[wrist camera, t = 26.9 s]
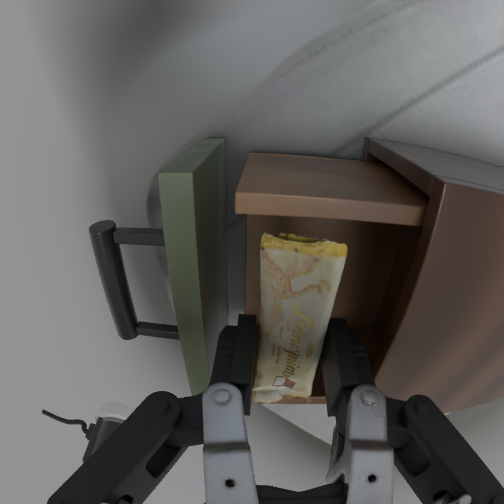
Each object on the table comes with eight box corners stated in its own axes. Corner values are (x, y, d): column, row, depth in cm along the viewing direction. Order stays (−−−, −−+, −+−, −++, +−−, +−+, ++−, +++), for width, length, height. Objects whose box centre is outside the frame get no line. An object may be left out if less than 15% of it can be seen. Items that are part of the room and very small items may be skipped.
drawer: (151, 318, 22) (119, 393, 16) (123, 142, 16) (46, 179, 9) (373, 329, 22) (397, 406, 15) (419, 157, 15) (493, 202, 9)
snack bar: (255, 233, 10) (348, 253, 9) (271, 218, 11) (352, 234, 10) (249, 402, 14) (303, 420, 13) (260, 383, 16) (311, 398, 15)
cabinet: (329, 327, 23) (346, 428, 15) (364, 136, 16) (444, 181, 8) (463, 323, 22) (502, 397, 15) (517, 172, 15) (599, 225, 7)
